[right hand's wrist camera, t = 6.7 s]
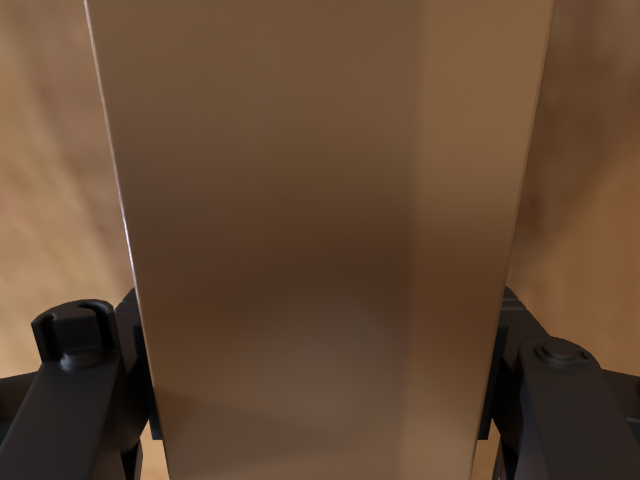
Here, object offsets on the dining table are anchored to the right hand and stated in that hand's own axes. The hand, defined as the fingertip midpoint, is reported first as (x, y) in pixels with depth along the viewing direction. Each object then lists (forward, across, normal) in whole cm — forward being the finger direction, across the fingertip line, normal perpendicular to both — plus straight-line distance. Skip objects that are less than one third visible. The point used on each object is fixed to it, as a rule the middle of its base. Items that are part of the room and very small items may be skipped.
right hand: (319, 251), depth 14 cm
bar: (0, 0, -28) cm, 28 cm away
